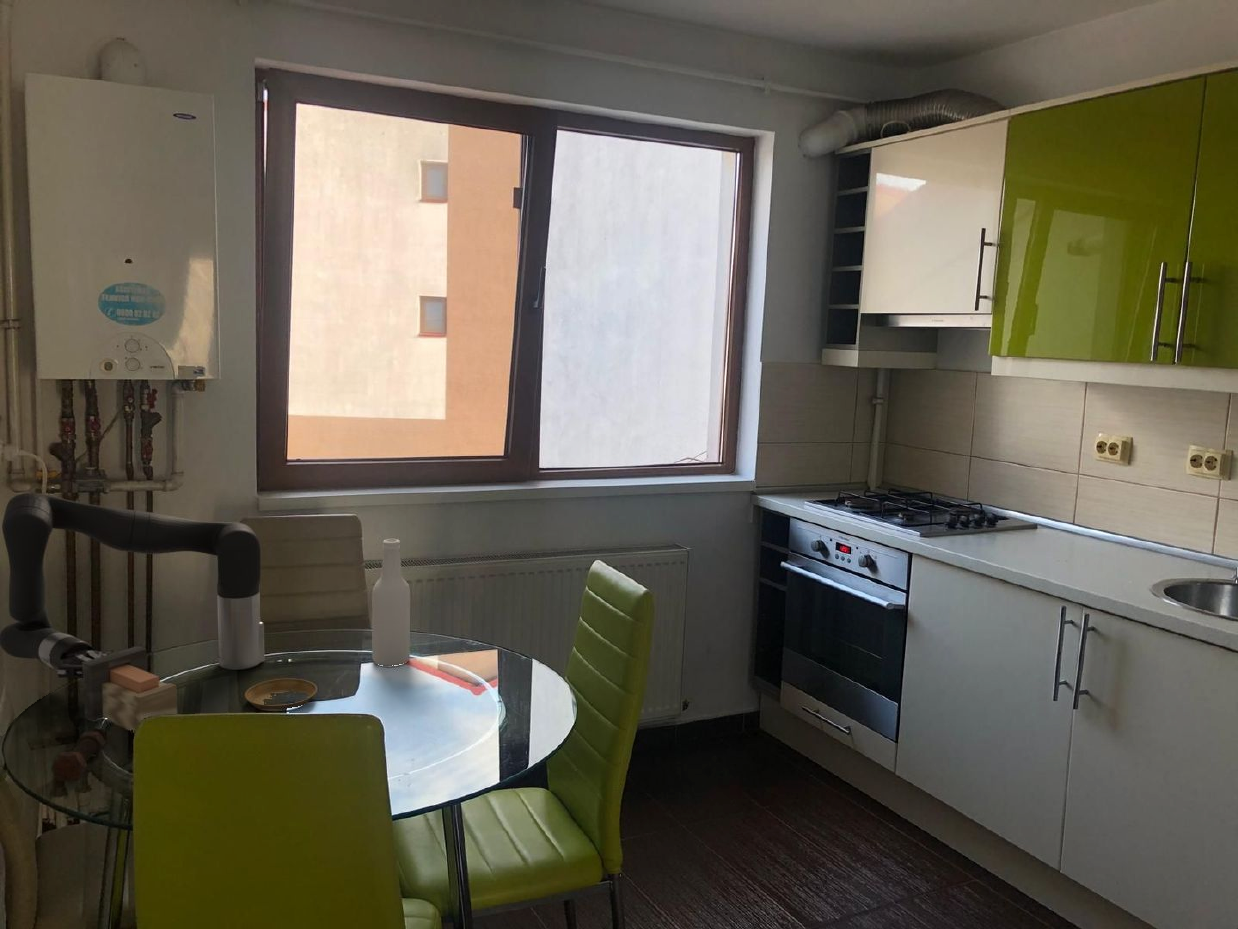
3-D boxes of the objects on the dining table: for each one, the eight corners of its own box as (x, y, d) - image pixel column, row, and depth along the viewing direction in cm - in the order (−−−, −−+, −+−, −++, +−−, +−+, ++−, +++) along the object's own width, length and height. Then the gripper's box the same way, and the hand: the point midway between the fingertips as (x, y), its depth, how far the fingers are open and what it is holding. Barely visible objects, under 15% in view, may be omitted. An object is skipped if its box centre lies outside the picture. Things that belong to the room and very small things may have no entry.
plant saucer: (231, 703, 215) (230, 691, 215) (290, 683, 227) (290, 672, 226) (271, 723, 207) (271, 711, 206) (331, 702, 218) (331, 690, 218)
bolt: (104, 753, 195) (72, 788, 180) (80, 741, 194) (45, 776, 179) (119, 728, 194) (88, 762, 179) (95, 715, 193) (61, 749, 179)
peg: (103, 685, 207) (102, 667, 206) (121, 679, 210) (120, 661, 209) (140, 701, 200) (140, 682, 199) (159, 695, 203) (158, 676, 203)
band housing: (85, 718, 204) (82, 662, 202) (140, 699, 214) (137, 646, 212) (131, 739, 196) (129, 681, 194) (186, 719, 206) (184, 663, 204)
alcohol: (392, 651, 248) (393, 534, 243) (417, 660, 243) (418, 540, 238) (364, 661, 241) (364, 540, 236) (389, 671, 236) (389, 547, 231)
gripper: (96, 661, 223) (141, 681, 214) (35, 678, 212) (79, 701, 203) (95, 629, 222) (140, 648, 213) (33, 645, 211) (78, 666, 202)
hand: (110, 674), depth 208 cm, fingers closed
